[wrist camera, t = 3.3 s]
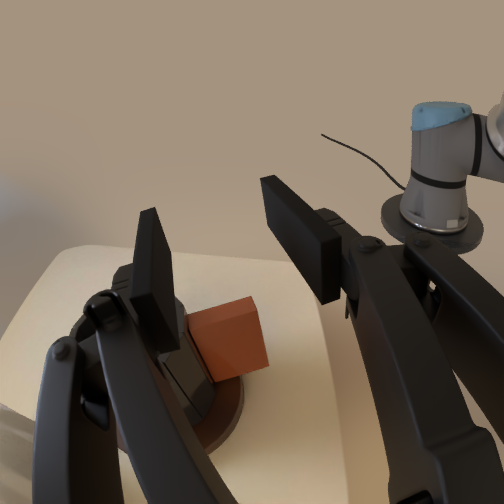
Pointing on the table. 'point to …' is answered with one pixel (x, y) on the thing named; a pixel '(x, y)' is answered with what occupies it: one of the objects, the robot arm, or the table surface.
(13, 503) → the vase
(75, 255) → the table surface
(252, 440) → the table surface
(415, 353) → the robot arm
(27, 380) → the table surface
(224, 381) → the turntable
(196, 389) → the mug
